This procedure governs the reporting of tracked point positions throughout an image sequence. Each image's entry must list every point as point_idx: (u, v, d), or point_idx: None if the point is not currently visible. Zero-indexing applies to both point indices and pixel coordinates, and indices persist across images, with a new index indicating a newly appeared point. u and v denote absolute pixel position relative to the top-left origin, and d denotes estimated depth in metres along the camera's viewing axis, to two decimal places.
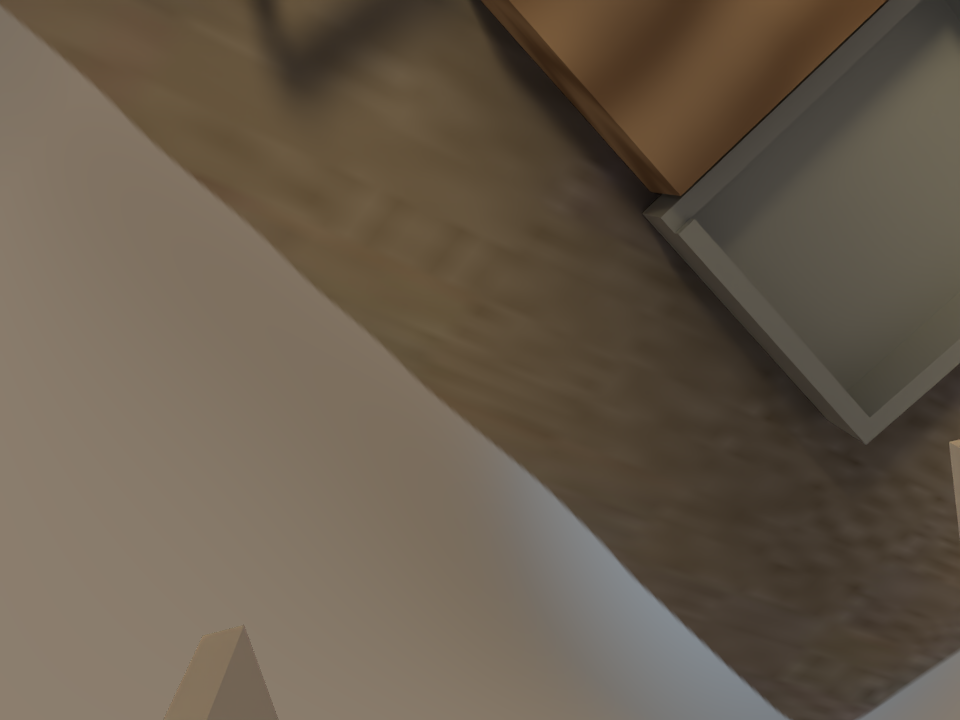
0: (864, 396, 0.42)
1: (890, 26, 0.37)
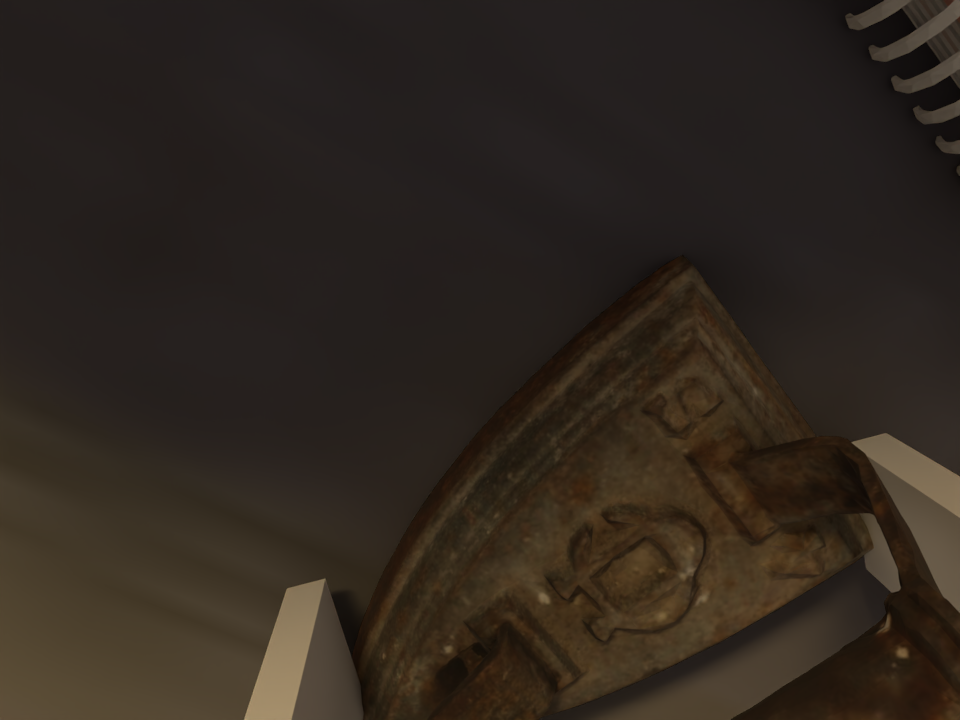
0: None
1: None
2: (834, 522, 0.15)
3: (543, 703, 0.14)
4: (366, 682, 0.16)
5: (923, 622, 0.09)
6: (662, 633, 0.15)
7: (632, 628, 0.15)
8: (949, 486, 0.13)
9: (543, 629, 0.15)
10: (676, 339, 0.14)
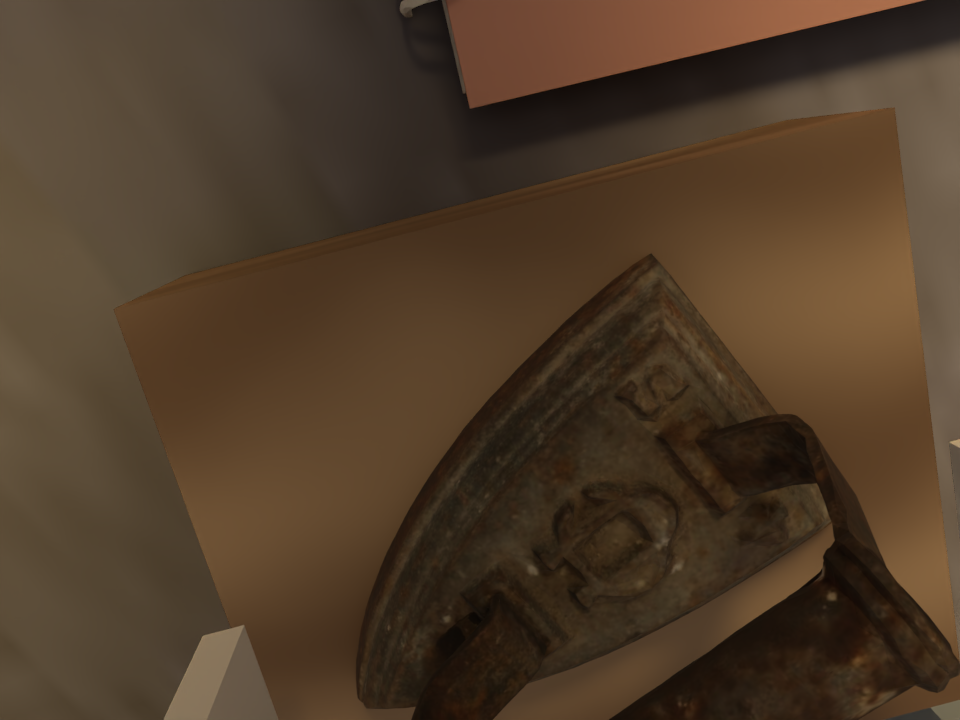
0: None
1: None
2: (796, 493, 0.16)
3: (534, 665, 0.16)
4: (373, 652, 0.17)
5: (848, 569, 0.10)
6: (642, 599, 0.16)
7: (614, 595, 0.16)
8: None
9: (533, 598, 0.16)
10: (644, 331, 0.15)
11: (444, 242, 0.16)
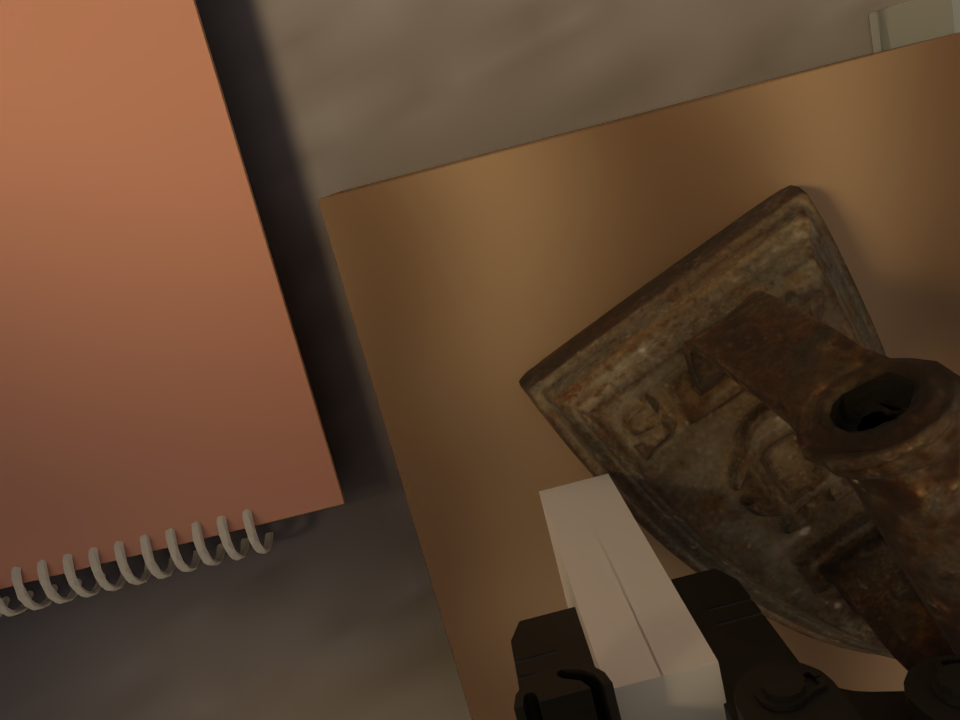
0: None
1: None
2: (774, 278, 0.16)
3: None
4: (859, 649, 0.19)
5: (829, 469, 0.11)
6: None
7: None
8: (620, 528, 0.14)
9: (833, 532, 0.17)
10: (589, 425, 0.16)
11: (451, 594, 0.19)
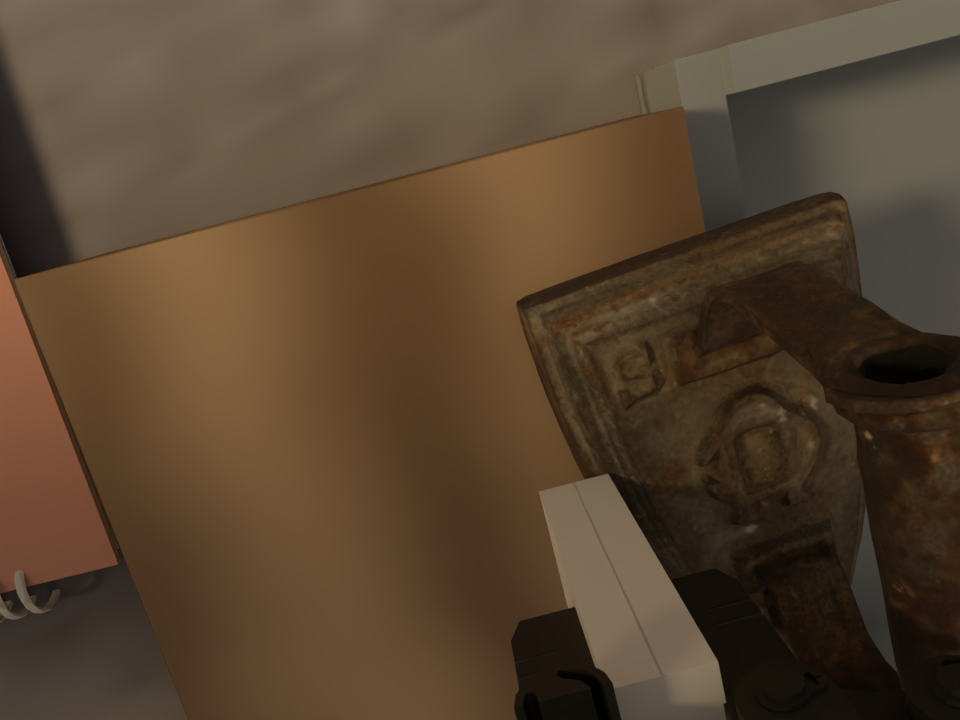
0: None
1: None
2: None
3: (835, 570, 0.16)
4: None
5: (848, 415, 0.11)
6: (828, 442, 0.17)
7: (809, 472, 0.16)
8: (620, 528, 0.14)
9: (776, 537, 0.17)
10: (578, 358, 0.16)
11: (183, 666, 0.19)
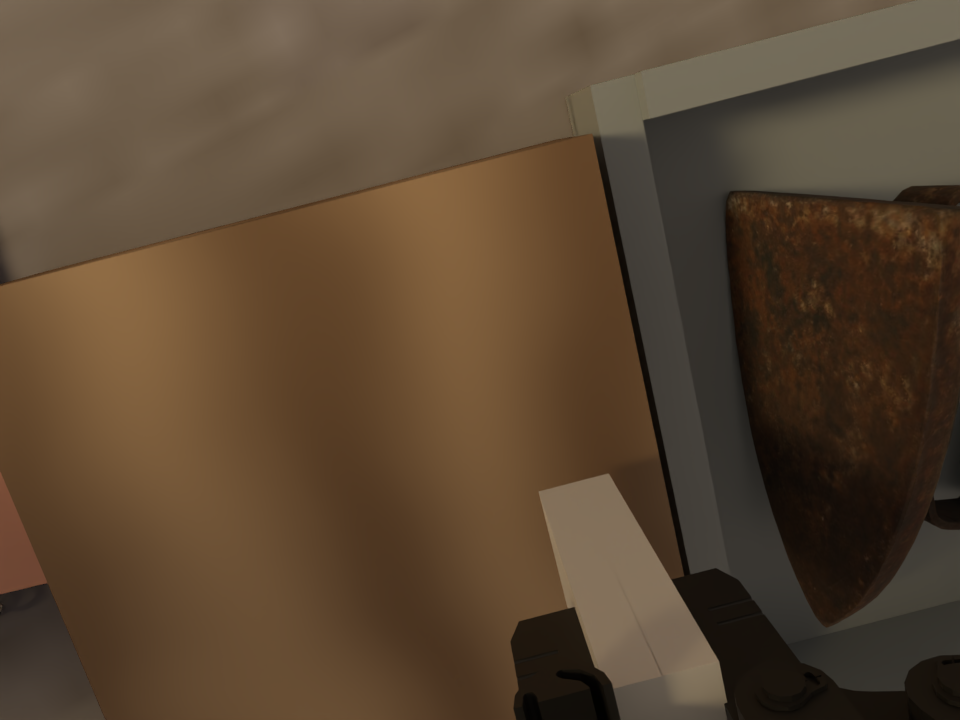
0: None
1: (671, 291, 0.19)
2: None
3: None
4: None
5: None
6: None
7: None
8: (621, 528, 0.14)
9: None
10: None
11: (106, 684, 0.19)
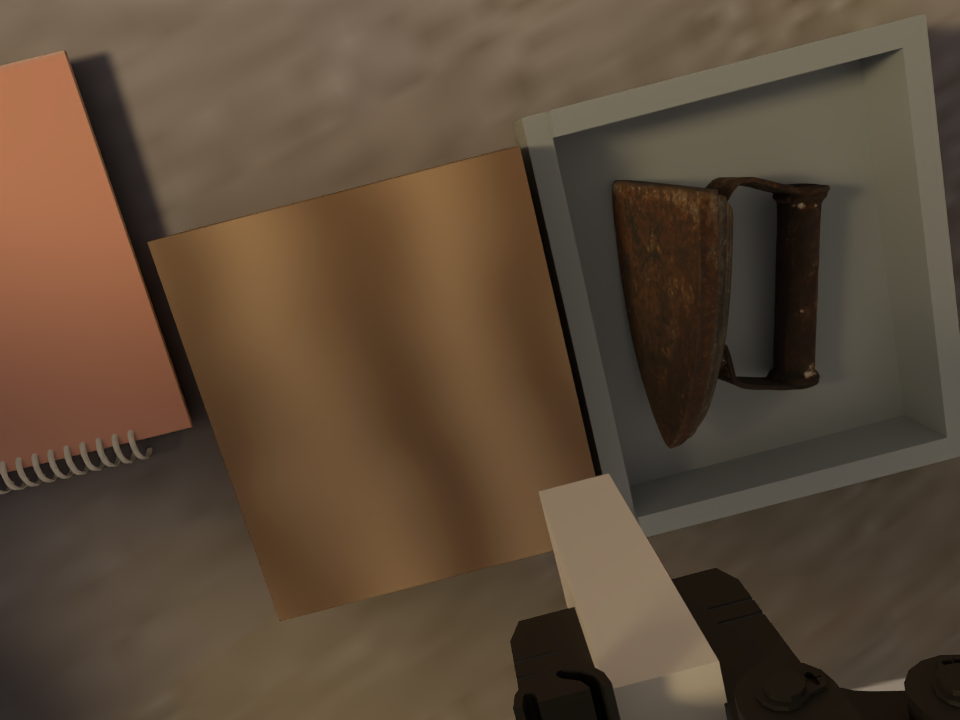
0: (921, 407, 0.36)
1: (572, 239, 0.32)
2: None
3: None
4: (698, 422, 0.33)
5: (820, 196, 0.33)
6: None
7: None
8: (620, 528, 0.14)
9: None
10: (730, 216, 0.29)
11: (237, 471, 0.32)
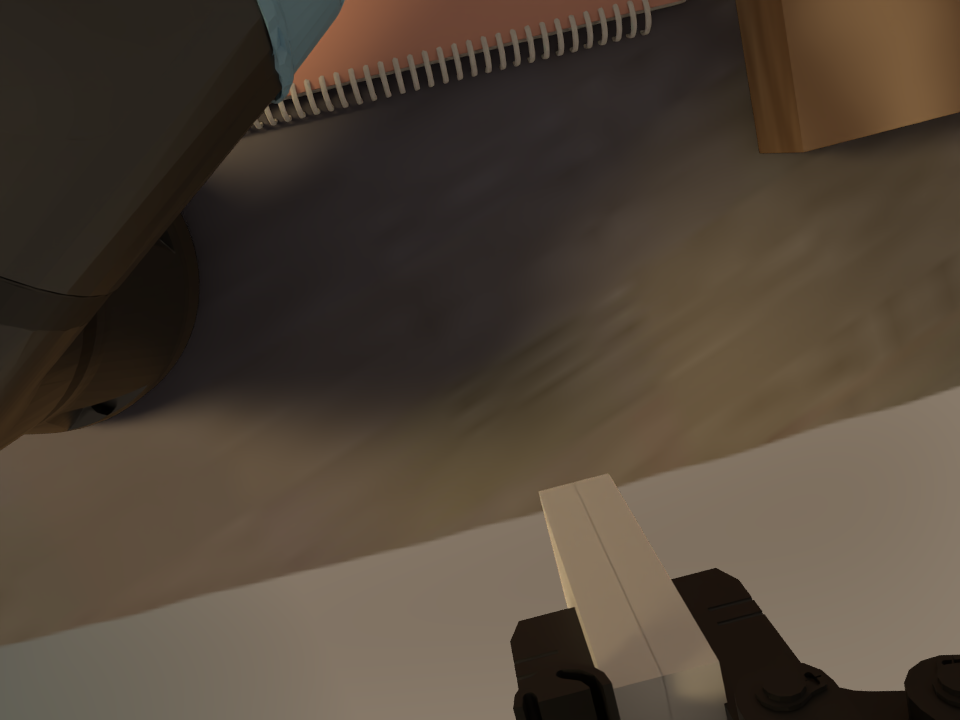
0: None
1: None
2: None
3: None
4: None
5: None
6: None
7: None
8: (621, 528, 0.14)
9: None
10: None
11: None
